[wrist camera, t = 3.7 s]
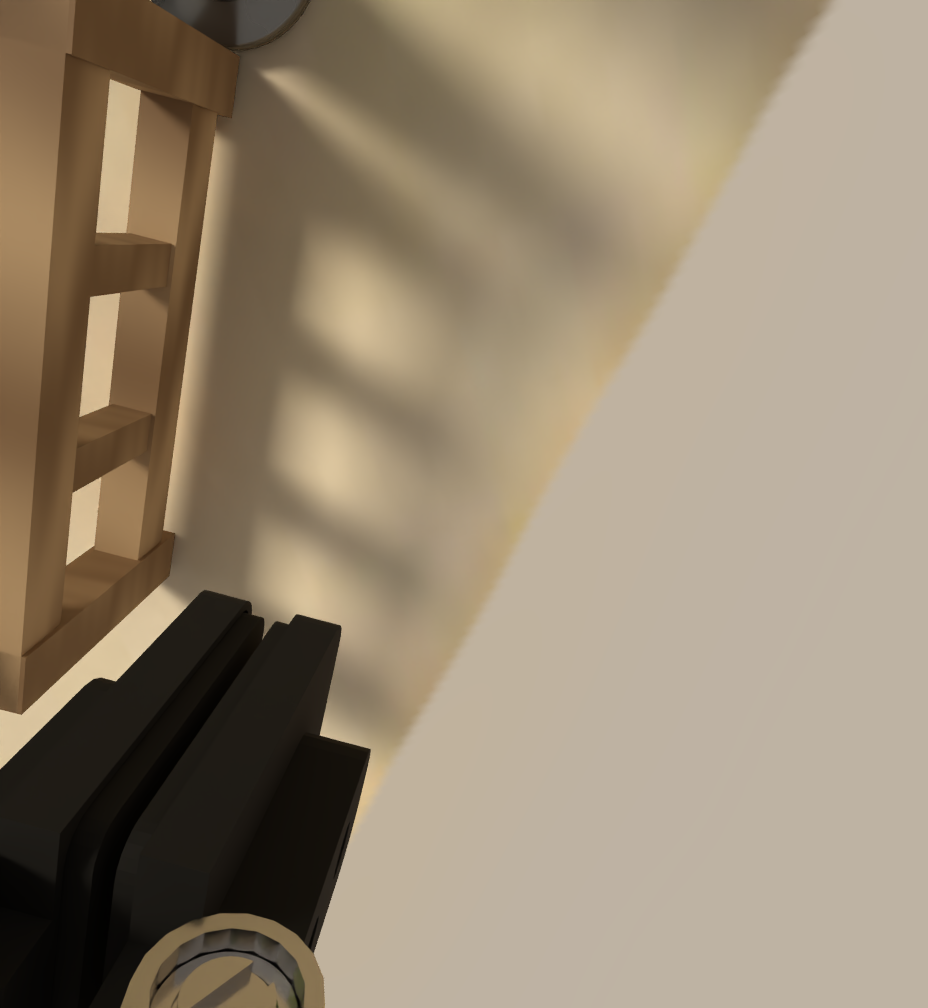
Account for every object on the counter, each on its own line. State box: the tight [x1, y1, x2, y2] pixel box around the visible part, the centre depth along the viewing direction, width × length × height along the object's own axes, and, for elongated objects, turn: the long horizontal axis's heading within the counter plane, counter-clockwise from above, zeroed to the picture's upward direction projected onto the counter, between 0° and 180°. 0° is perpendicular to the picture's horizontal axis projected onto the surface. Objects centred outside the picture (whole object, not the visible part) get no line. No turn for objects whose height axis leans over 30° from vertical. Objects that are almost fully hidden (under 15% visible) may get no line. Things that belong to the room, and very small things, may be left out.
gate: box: [0, 0, 240, 715], centre depth 19 cm, size 14×1×8 cm, turn 166°
